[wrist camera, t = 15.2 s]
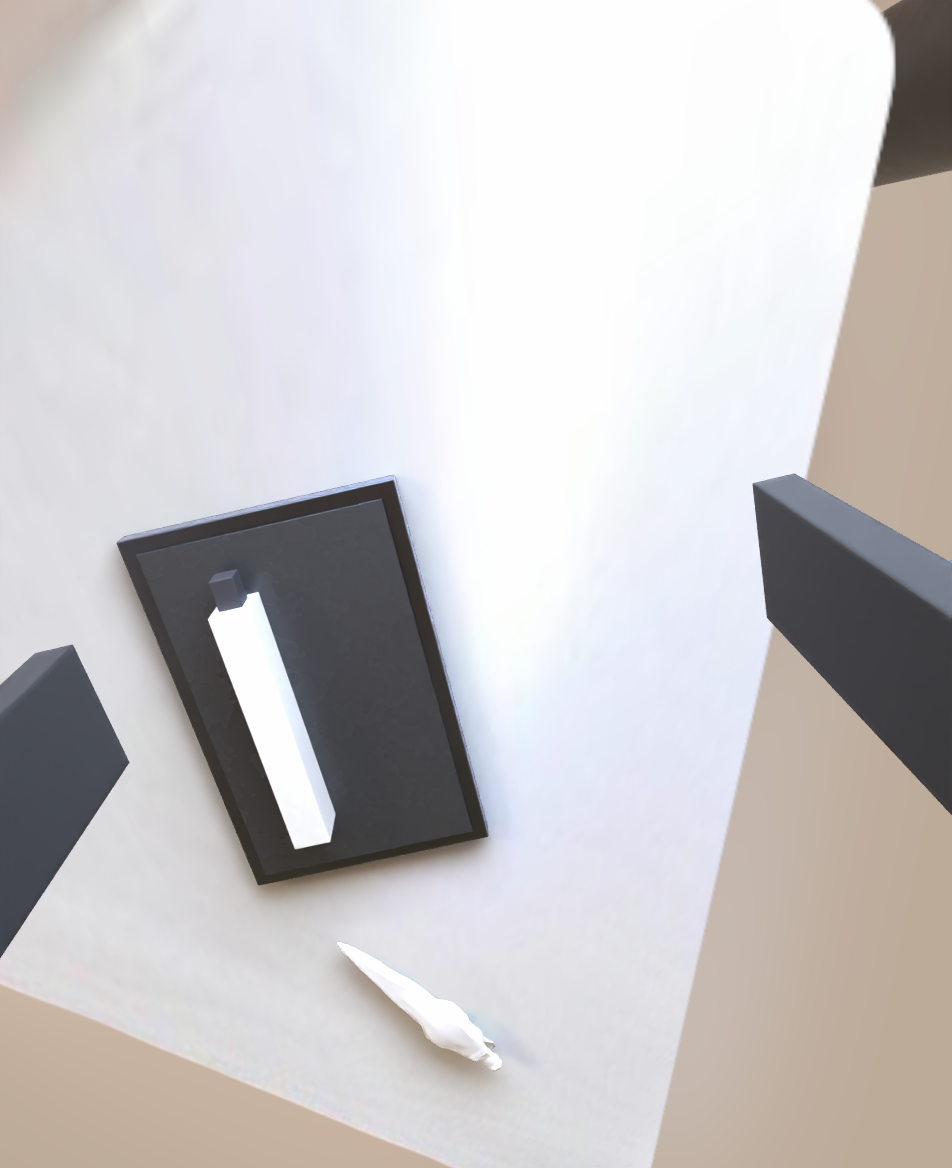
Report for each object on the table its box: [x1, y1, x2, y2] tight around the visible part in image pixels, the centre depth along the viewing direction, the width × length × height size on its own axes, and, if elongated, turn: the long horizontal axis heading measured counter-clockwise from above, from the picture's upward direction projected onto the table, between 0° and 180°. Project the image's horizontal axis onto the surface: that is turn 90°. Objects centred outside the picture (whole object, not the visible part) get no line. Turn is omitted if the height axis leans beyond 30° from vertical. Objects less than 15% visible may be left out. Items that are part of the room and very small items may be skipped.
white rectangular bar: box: [208, 569, 335, 849], centre depth 40 cm, size 2×16×2 cm, turn 12°
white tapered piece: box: [337, 943, 501, 1071], centre depth 50 cm, size 15×3×2 cm, turn 42°
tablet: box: [117, 475, 488, 886], centre depth 42 cm, size 14×22×1 cm, turn 12°
